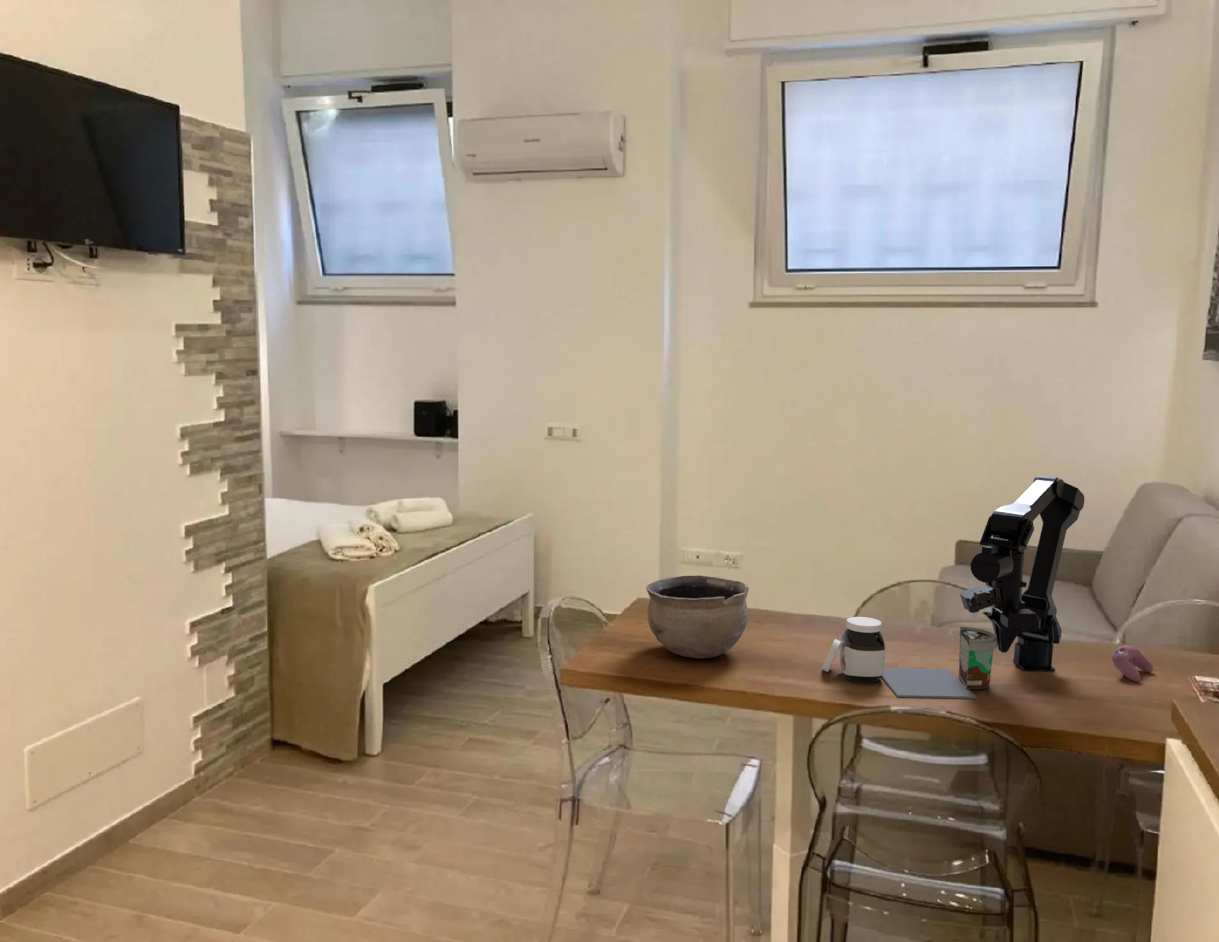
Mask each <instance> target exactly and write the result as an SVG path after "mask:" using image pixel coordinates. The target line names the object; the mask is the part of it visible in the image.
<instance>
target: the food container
mask: <svg viewBox="0 0 1219 942" xmlns="http://www.w3.org/2000/svg"><path fill="white" fill-rule="evenodd" d="M995 649H998V645H997V640H996V636H995V633H993V632H991V631H989V630H986V629H981V628H977V627H976V628H975V627H969V626H959V660H958V662H959V663H958V664H959V665H958V677H959V678H960V680H961V683H963V684H964V685H965V687H966V689H969V690H980V689H986V688H988V687H989V686H990V683H991V674H992V665H993V660H994V659H993V657H994V650H995Z"/></svg>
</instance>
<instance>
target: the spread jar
mask: <svg viewBox="0 0 1219 942" xmlns="http://www.w3.org/2000/svg"><path fill="white" fill-rule="evenodd" d="M882 624H883V623H882V621H880V620H878V619H876V618H872V617H867V616H852V617H848V618H847V619H846V628H845V629H844V630H843V632H842V634H841V639H840V640H838V639H837V638H835V639H834V640H833V643H832V644H831V646H830V649H829V651H828V653H827V656H826V657H825V661H824V663H823V666H822V667H821V670H822V671H824V672H826V673H829V672H830V669H831V667H832V665H833V662H834V659H836V656H837V653H838V650H839V649H840V651H839V655H840V656H839V664H840V665H839V666H840V671H841V674H842V675H843V677H844V678H845V679H846V680H847V681H848V680H849V681H851V682H853V683H861V684H870V683H871V684H872V683H876V682H878V681H880V680H881V679H882V677H883V674H884V668H885V667H886V666H885V664H886V663H885V662H886V642H885V639H884V636H883V634H882V627H883V626H882Z"/></svg>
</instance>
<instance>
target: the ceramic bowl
mask: <svg viewBox="0 0 1219 942" xmlns="http://www.w3.org/2000/svg"><path fill="white" fill-rule="evenodd" d="M749 588H750V587H749V586H748V584H746V583H743V582H741V581H738V580H733V579H726V578H723V577H717V576H716V577H714V576H708V575H681V576H671V577H667V578H663V579H658V580H656V581H654V582H650V583H649V584H648V583H647V585H646V588H645V590H646V592H647V594H648V596H649V598H650V599H649V601H648V604H647V605H648V606H647V622H648V626H649V628H650V630H651V632H652V633H653V635H654V636H655V638H656V639H657V641H658V642H660V644H662V646H663V647H665V648H666V649H667V650H668V651H670V652H672V653H673V654H676V655H678V656H681V657H684V658H691V659H711V658H716V657H719V656H721V655H723V654H725V653H726V652H728V651H730V650H731V649H732V648H733V647H734V646H735V645H736V644H737V642H738V641H739V640H740V638H741V637H742V635H743V634H744V632H745V629H746V627H747V624H748V623H747V622H748V615H749V614H748V606H747V601H746V600H747V597H748V592H749V590H750V589H749Z"/></svg>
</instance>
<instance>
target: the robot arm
mask: <svg viewBox="0 0 1219 942" xmlns="http://www.w3.org/2000/svg"><path fill="white" fill-rule="evenodd" d="M1084 506H1085V495H1084V493H1083V492H1082V491H1081V490H1080V489H1079V487H1076V486H1075V485H1071V484H1070V483H1067V482H1065V480H1063V479H1062V478H1059V477H1058V476H1057V477H1056V476H1048V475H1039V476H1035V477H1034V479H1033V482H1032V484H1031V485H1030V486H1029V487H1028V488H1027V489H1026V490H1025V491H1024V492H1023V493H1022V494H1021V495H1020V496H1019V497H1018V498H1017V499H1016V500H1015V502H1012V504H1011V503H1010V504H1006V505H1001V506H1000V507H998V508H996V509H995V510H994V511H992V513H991V514H990V515H989V517H988V519H987V522H986V524H985V527H984V529H983V533H982V536H981V538H980V541H979V545H980V546H982V547H981V552H979V553H977V554H975V555H974V556H973V558H972V560H971V562H970V571H971V574H972V575H973V577H974V578H975V579H976V580H977V581H979V582H981V583H985V584H983V585H980V586H975V587H973V588H969V589H966V590H964V591H961V592H960V593H959V595H960V598H961V599H960V600H961V602H962V605H963V608H964V609H965V610H967V611H968V612H969V613H971V614H975V613H978V612H979V611H981V610H984V609H986V611H984V612H982V615H984V616H985V617H986V618H987V619H988V620H989V621H990V623H992V627H993V631H994V635H995V638H996V640H997V649H998V651H1000V652H1001V653H1003V654H1004V653H1007V652H1008V651H1009V650H1010V648H1011V646H1012V645H1013V643H1014V642H1015V641H1017V642H1015V643H1014V654H1013V655H1014V656H1013V659H1012V662H1013V663H1014V664H1015V665H1017V666H1018V667H1019V668H1020V669H1022V670H1024V671H1026V672H1030V671H1031V672H1038V671H1039V672H1055V671H1056V668H1055V667H1053V666H1052V664H1053V655H1054V654H1053V652H1054V645H1055V644H1056V645H1058V644H1060V643H1061V638H1062V631H1063V629H1062V628H1061V625H1060V622H1059V620H1058V617H1057V613H1058V609H1057V606H1056V604H1055V601H1054V598H1053V591H1054V588H1055V587H1054V586H1055V582H1056V578H1057V573H1058V570H1059V565H1060V560H1061V557H1062V551H1063V548H1064V547H1063V546H1064V543H1065V539H1066V534H1067V530H1068V529H1069V528H1071V526H1073V525H1074V524H1075V523H1076V522H1077V521H1078V520H1079V516H1080V513H1081V511H1082V510H1083V508H1084ZM1038 516H1040V519H1041V521H1042V525H1041V530H1040V534H1039V535H1040V536H1039V540H1038V544H1037V548H1036V550H1035V551H1036V552H1035V556H1034V561H1033V566H1032V569H1031V574H1030V578H1029V581H1028V582H1027V581H1025V580H1024V579H1023V578H1024V563H1025V550H1027V548H1028V544H1029V542H1030V539H1031V537H1032V535H1033V533H1034V531H1035V526H1034V521H1035V520H1036V519H1037V517H1038ZM1027 583H1028V585H1027ZM1023 588H1027V589H1026V590H1025V591H1024V592H1023ZM1016 638H1017V640H1016Z"/></svg>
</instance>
